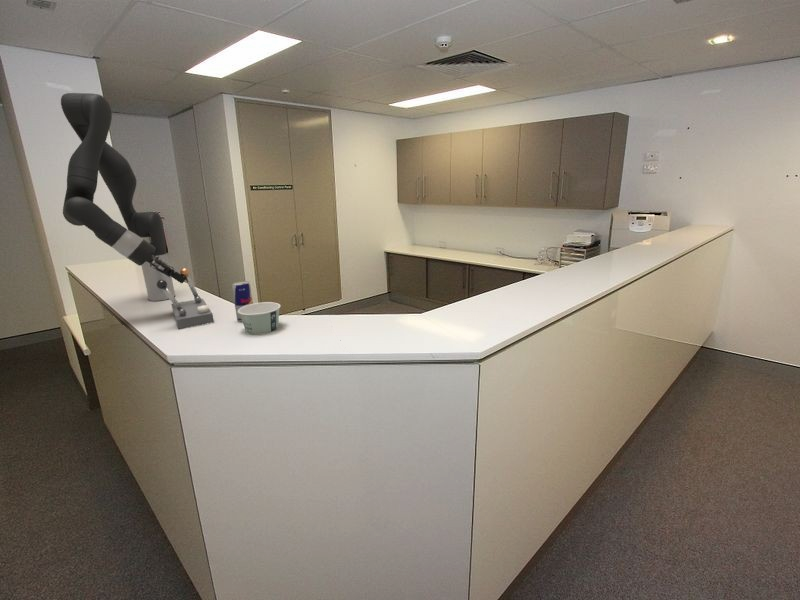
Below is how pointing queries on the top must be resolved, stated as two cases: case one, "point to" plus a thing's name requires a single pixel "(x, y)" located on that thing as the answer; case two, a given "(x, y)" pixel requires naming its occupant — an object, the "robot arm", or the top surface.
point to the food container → (260, 317)
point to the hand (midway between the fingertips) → (183, 280)
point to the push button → (203, 308)
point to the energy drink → (241, 296)
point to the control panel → (192, 314)
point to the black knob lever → (171, 296)
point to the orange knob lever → (190, 284)
